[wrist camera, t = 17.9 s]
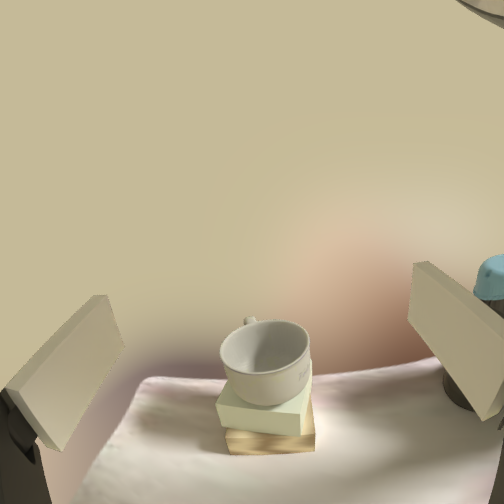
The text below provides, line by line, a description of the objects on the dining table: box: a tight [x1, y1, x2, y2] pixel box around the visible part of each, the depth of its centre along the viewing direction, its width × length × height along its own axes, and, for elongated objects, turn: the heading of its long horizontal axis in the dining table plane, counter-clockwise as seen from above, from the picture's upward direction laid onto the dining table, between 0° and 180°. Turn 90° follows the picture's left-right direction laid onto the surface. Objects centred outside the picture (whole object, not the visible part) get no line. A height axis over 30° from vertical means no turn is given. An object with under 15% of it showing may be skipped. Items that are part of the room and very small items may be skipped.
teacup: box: [219, 316, 310, 406], centre depth 37 cm, size 14×11×8 cm
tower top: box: [215, 359, 312, 437], centre depth 39 cm, size 11×11×5 cm
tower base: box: [225, 395, 315, 455], centre depth 40 cm, size 12×12×5 cm
